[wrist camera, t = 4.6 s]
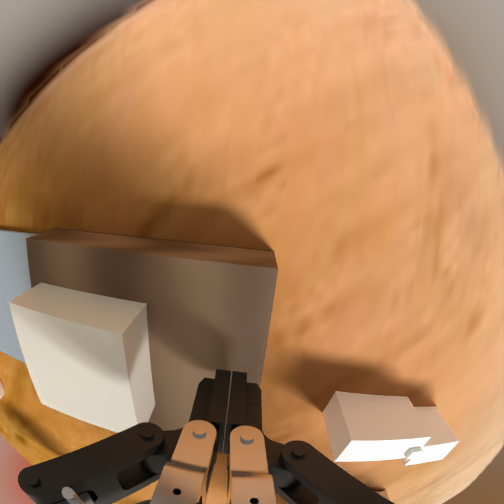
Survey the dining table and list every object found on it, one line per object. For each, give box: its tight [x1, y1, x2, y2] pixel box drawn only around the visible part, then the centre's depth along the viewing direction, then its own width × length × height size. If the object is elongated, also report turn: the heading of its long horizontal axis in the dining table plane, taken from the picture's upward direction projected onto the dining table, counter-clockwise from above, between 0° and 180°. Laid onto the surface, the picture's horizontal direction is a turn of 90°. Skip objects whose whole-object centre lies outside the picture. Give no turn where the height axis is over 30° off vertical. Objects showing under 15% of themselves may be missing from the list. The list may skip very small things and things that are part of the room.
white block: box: [9, 283, 155, 433], centre depth 13 cm, size 7×7×3 cm
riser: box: [26, 229, 278, 440], centre depth 16 cm, size 14×12×3 cm
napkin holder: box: [323, 391, 459, 466], centre depth 17 cm, size 15×11×6 cm
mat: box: [0, 229, 37, 363], centre depth 17 cm, size 10×12×1 cm
